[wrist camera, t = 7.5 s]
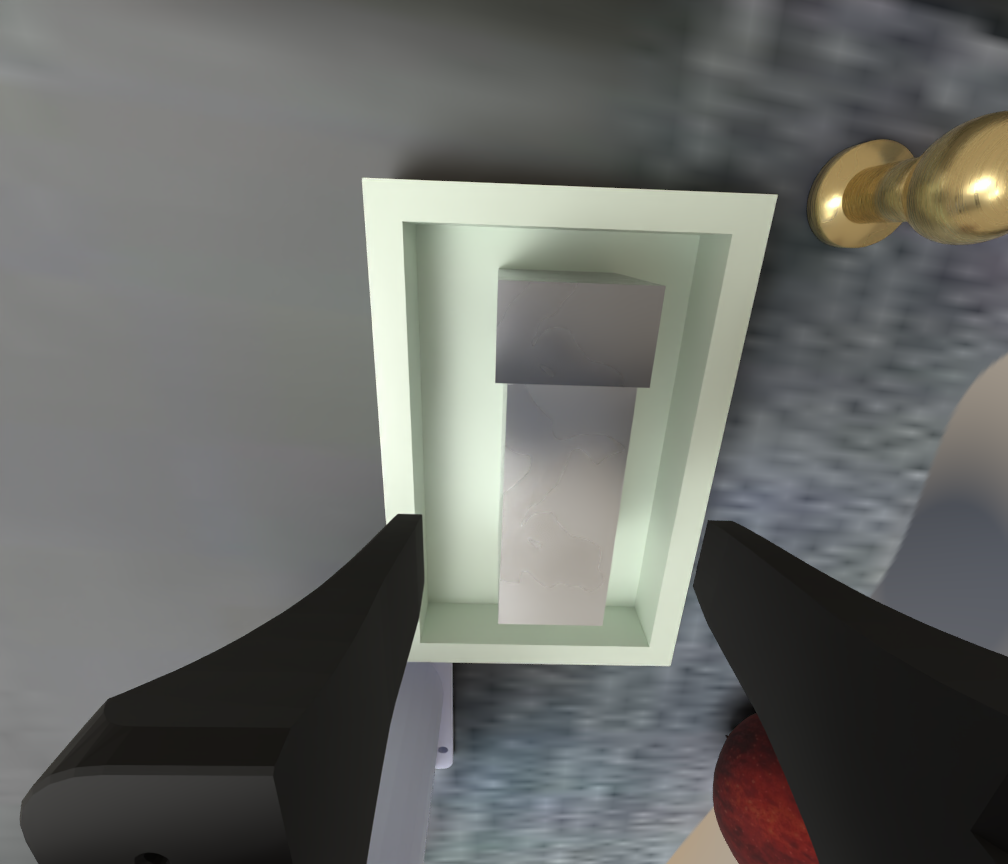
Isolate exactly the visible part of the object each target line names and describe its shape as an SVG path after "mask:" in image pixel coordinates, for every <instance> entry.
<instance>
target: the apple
mask: <svg viewBox="0 0 1008 864" xmlns="http://www.w3.org/2000/svg"><path fill="white" fill-rule="evenodd" d="M725 736H726V737H727V740H726V741H725V744H724V746H723V748H722V750H721V753H720V755H719V758H718V761H717V764H716V768H715V772H714V781H713V803H714V810H715V815H716V818H717V822H718V825H719V827H720V830H721V832H722V834H723V836H724V838H725V841H726V842H727V844H728V846H729V848H730V850H731V852H732V853H733V855H734V857H735V858H736V860H737V861H738V863H739V864H819V861H818V858H817V856H816V853H815V850H814V848H813V845H812V842H811V840H810V837H809V834H808V832H807V829H806V826H805V824H804V821H803V819H802V816H801V814H800V811H799V809H798V807H797V804H796V802H795V799H794V797H793V794H792V792H791V789H790V787H789V784H788V782H787V779H786V777H785V775H784V772H783V770H782V768H781V765H780V763H779V761H778V759H777V756H776V754H775V752H774V749H773V747H772V745H771V742H770V740H769V738H768V736H767V733H766V731H765V729H764V727H763V725H762V723H761V721H760V719H759V717H758V715H757V713H755V714H753V715H751V716H749V717H748V718H746V719H744V720H743V721H742V722H741V723H739V724H738V725H737V726H736V727H735V728H734V730H733V731H732V732H731V733H730V734H729V736H727V735H725Z"/></svg>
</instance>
